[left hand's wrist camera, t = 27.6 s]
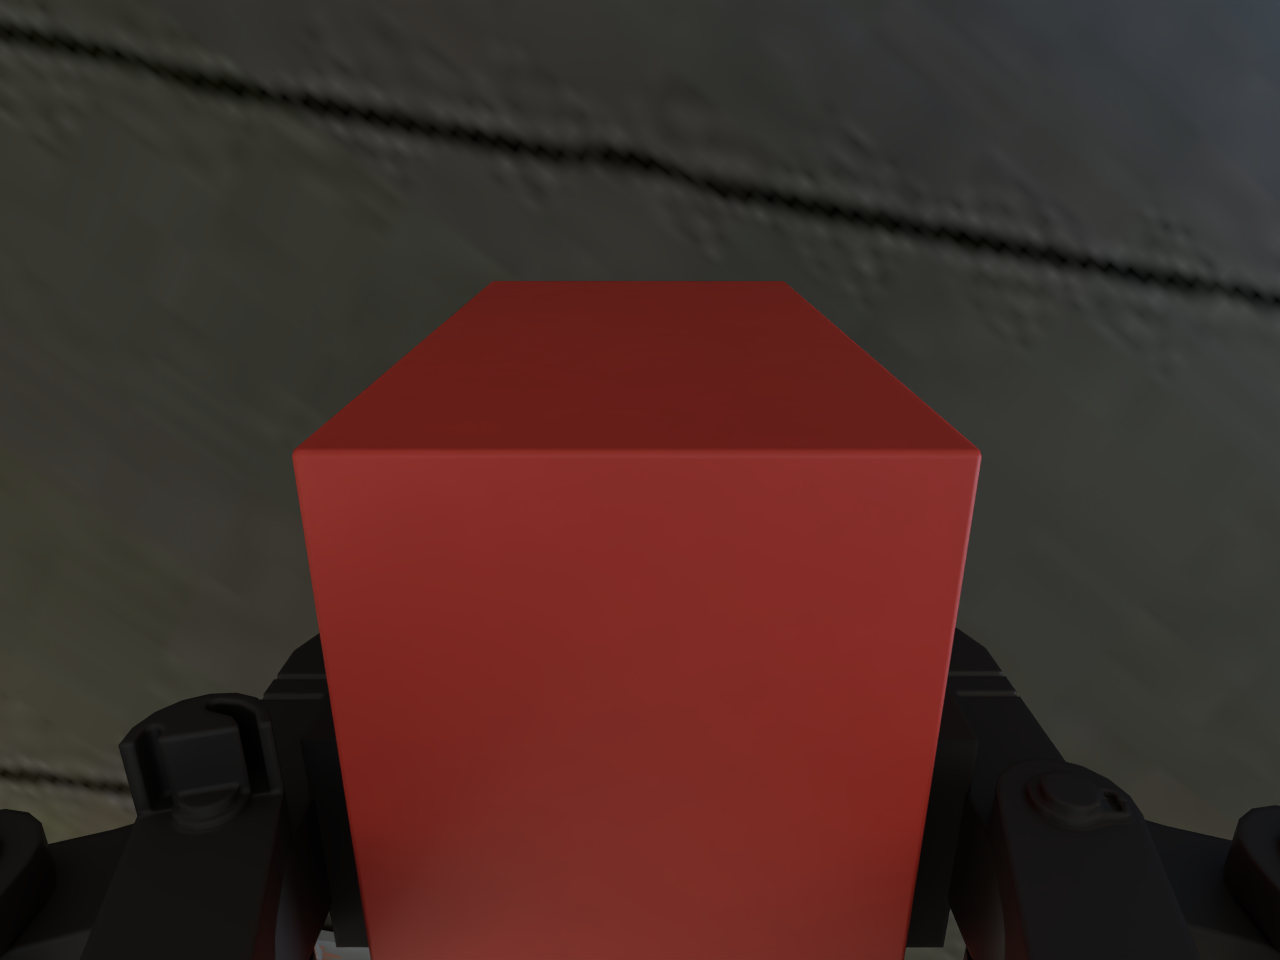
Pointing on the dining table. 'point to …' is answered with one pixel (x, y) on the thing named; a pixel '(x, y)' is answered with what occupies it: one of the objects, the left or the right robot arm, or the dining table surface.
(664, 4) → the dining table surface
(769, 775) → the block
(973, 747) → the left robot arm
